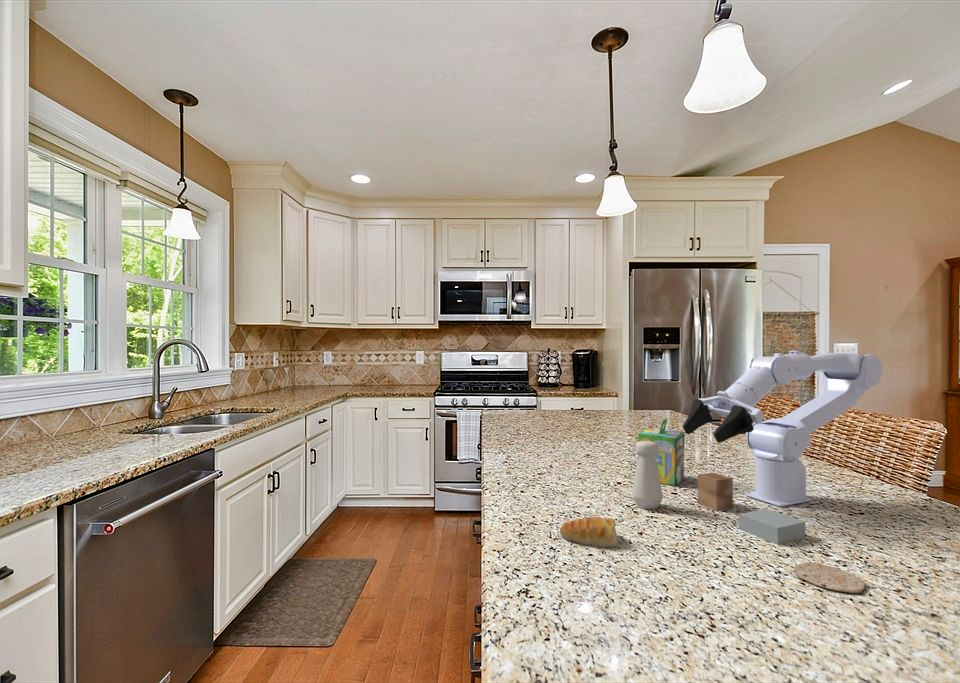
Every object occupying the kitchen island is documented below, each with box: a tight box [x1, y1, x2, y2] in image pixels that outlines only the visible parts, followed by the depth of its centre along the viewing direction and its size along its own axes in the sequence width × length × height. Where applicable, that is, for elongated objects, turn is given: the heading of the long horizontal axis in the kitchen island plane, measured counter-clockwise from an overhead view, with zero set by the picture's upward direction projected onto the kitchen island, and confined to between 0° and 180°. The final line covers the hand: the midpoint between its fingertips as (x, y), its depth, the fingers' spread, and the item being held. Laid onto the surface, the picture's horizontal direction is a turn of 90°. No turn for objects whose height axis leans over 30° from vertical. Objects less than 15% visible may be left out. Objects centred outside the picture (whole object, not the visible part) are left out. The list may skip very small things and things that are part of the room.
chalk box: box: [637, 417, 686, 487], centre depth 113 cm, size 9×9×15 cm
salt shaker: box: [631, 441, 664, 510], centre depth 94 cm, size 6×6×13 cm
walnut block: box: [697, 472, 734, 512], centre depth 94 cm, size 4×4×6 cm
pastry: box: [559, 516, 618, 549], centre depth 78 cm, size 9×7×4 cm
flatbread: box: [793, 561, 866, 594], centre depth 64 cm, size 8×8×1 cm
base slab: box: [738, 508, 806, 545], centre depth 80 cm, size 7×7×3 cm
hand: (700, 434), depth 92 cm, fingers open, 7 cm apart
